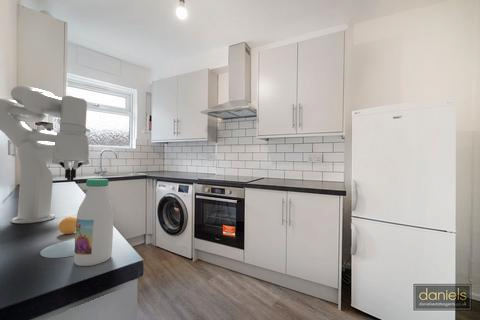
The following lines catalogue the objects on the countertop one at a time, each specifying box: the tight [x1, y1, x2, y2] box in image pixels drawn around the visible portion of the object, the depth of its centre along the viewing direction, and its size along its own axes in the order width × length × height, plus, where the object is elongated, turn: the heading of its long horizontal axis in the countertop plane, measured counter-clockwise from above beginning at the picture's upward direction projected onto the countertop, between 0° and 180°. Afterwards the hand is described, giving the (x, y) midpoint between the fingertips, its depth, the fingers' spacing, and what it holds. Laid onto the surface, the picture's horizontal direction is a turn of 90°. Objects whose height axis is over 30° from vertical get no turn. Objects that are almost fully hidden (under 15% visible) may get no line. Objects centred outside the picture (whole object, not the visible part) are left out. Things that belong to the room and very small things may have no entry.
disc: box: [39, 239, 75, 259], centre depth 59 cm, size 13×13×1 cm
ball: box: [58, 216, 77, 235], centre depth 71 cm, size 6×6×6 cm
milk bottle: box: [73, 178, 114, 267], centre depth 53 cm, size 8×8×20 cm
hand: (70, 180), depth 78 cm, fingers closed
